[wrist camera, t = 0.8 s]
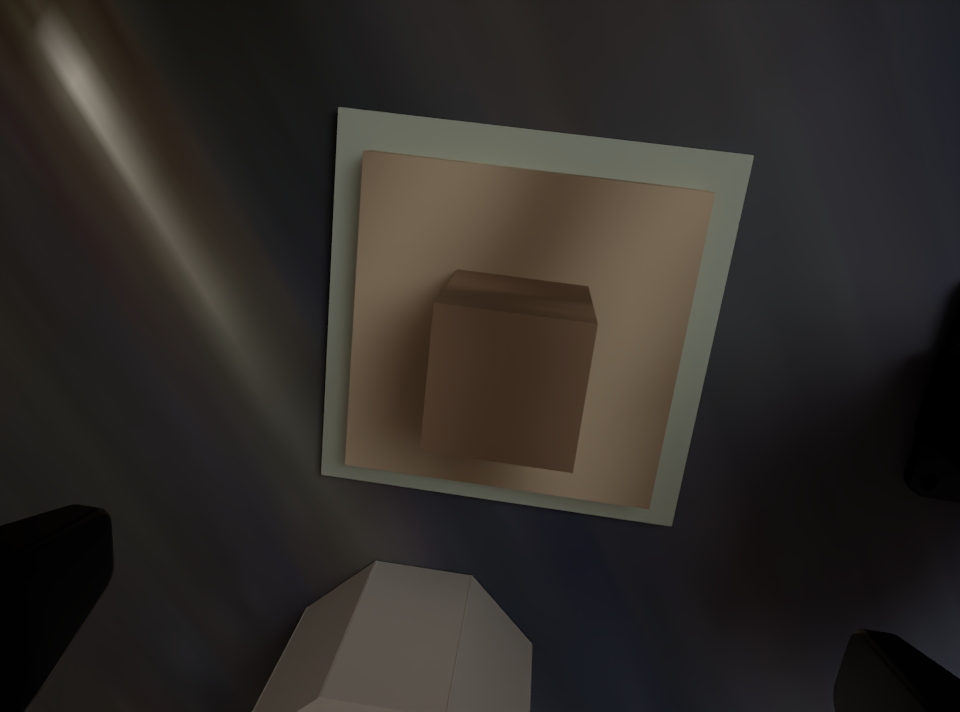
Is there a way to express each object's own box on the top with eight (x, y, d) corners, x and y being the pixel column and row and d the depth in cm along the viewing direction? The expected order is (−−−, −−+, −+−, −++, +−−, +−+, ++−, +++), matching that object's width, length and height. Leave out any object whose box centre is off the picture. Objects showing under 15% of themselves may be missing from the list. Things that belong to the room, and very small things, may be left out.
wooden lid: (707, 189, 18) (760, 207, 14) (644, 493, 21) (671, 595, 16) (372, 150, 19) (312, 154, 14) (353, 450, 22) (298, 537, 17)
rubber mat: (750, 155, 19) (754, 155, 18) (669, 519, 22) (671, 526, 21) (342, 107, 19) (338, 106, 19) (325, 469, 23) (320, 474, 22)
